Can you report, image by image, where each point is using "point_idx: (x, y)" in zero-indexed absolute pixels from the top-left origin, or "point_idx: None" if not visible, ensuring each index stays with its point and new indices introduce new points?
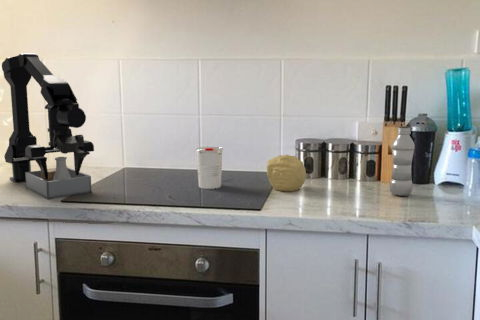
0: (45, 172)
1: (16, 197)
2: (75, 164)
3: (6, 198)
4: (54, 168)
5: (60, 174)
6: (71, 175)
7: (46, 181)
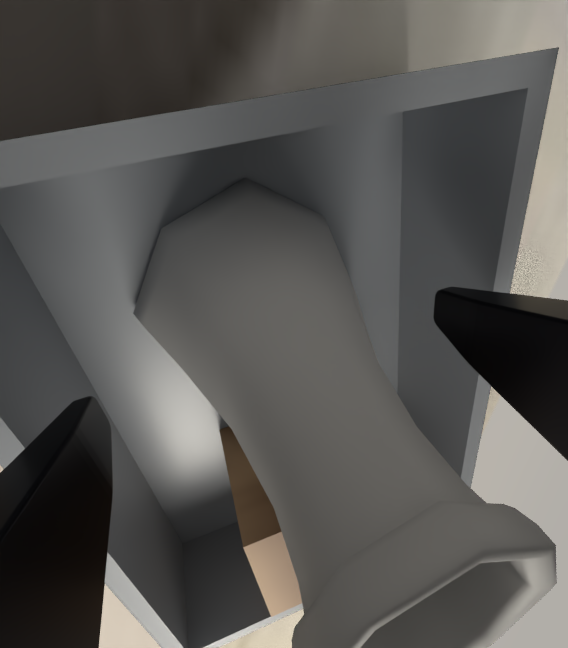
0: (536, 301)
1: (516, 266)
2: (82, 577)
3: (556, 265)
4: (293, 597)
5: (335, 312)
6: (151, 547)
7: (536, 102)
